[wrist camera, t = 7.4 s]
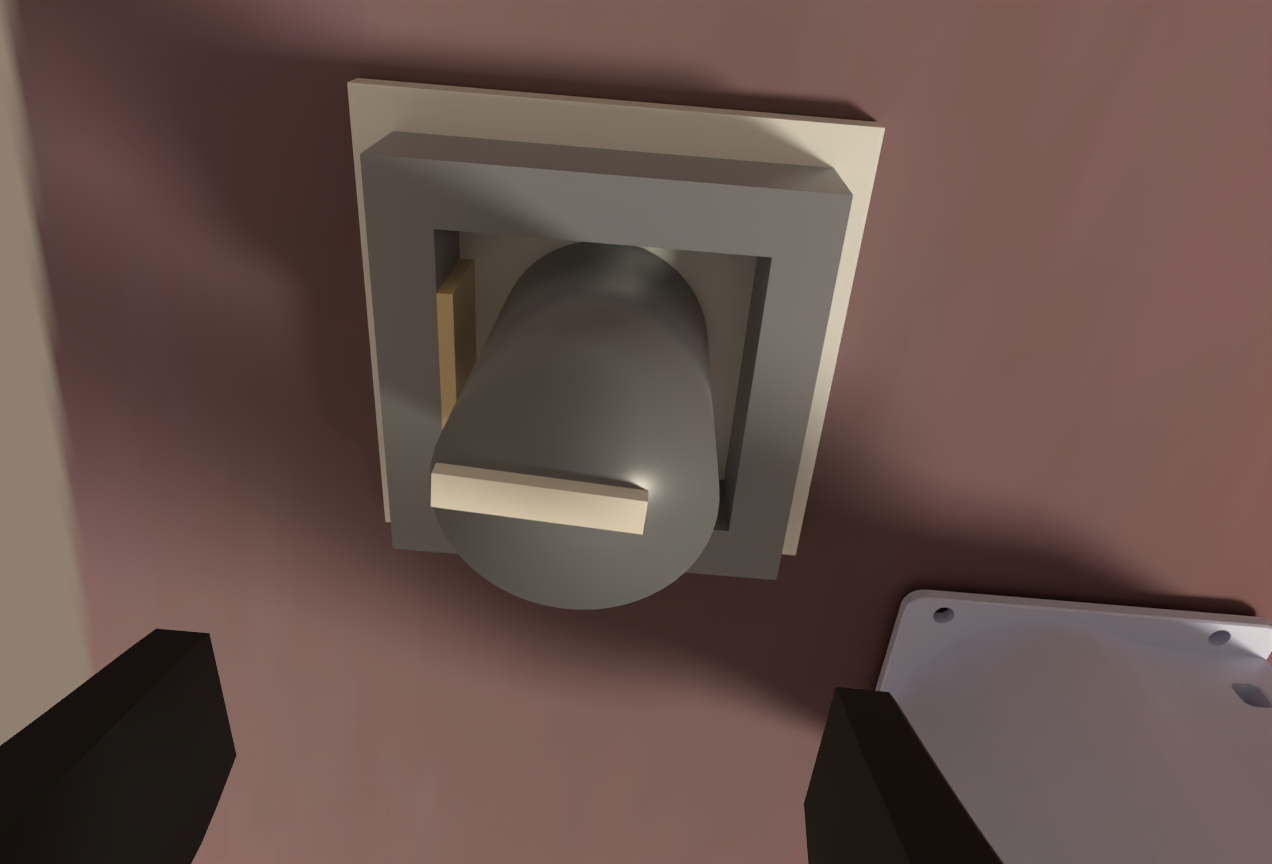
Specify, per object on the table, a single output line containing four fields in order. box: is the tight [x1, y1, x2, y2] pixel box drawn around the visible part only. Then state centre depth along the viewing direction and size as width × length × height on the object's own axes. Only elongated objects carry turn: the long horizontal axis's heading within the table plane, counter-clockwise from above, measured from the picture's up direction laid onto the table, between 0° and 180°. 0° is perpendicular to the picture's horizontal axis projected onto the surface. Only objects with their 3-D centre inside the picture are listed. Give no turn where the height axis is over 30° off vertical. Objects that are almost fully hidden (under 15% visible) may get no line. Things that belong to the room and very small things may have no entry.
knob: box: [429, 242, 719, 610], centre depth 16 cm, size 4×4×6 cm
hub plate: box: [347, 78, 885, 580], centre depth 18 cm, size 10×10×3 cm
